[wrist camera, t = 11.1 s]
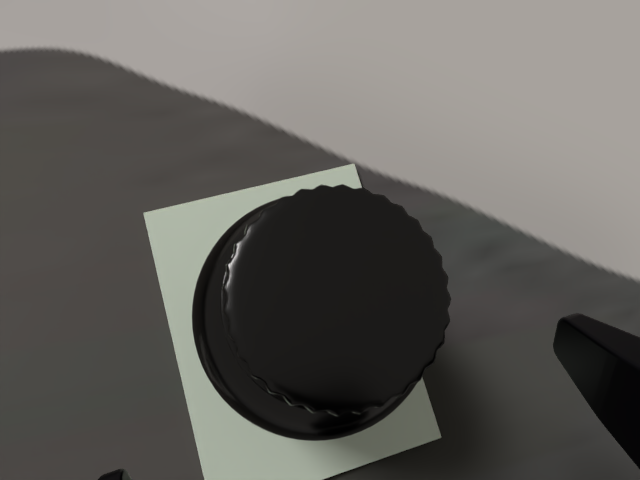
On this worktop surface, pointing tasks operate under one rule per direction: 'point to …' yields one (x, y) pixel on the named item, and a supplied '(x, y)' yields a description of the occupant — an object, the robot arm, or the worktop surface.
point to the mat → (202, 399)
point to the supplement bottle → (320, 312)
